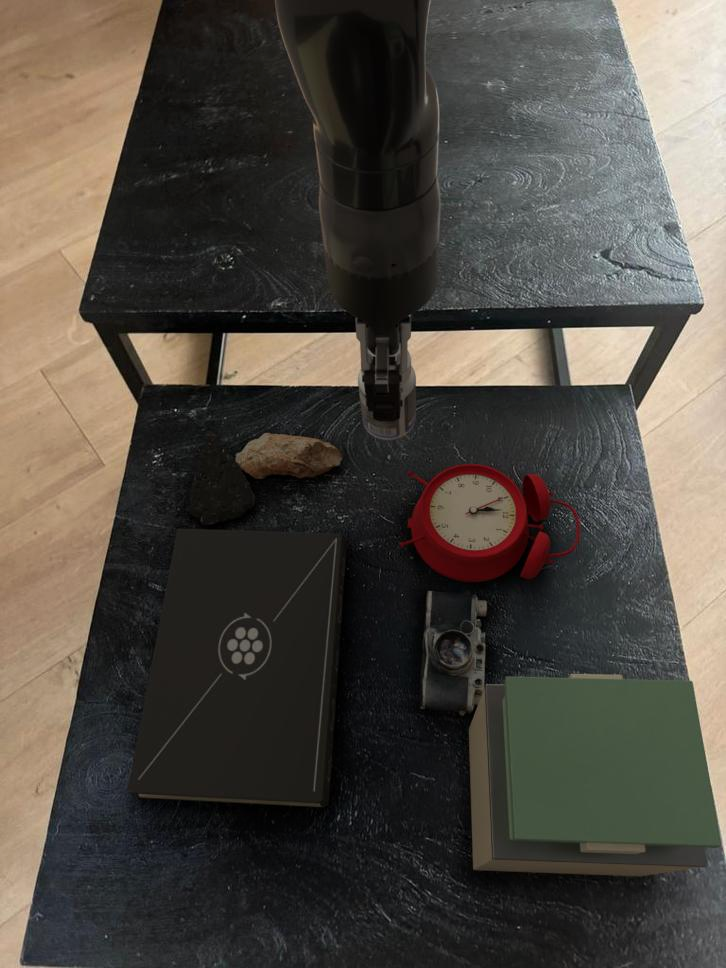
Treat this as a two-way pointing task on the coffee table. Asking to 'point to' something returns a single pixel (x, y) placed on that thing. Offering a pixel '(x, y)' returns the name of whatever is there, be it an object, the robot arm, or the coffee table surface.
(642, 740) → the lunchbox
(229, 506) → the arrowhead
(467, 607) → the camera
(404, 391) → the pill bottle
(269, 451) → the tan elongated rock
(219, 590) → the book
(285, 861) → the coffee table surface
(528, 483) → the alarm clock
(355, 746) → the coffee table surface
